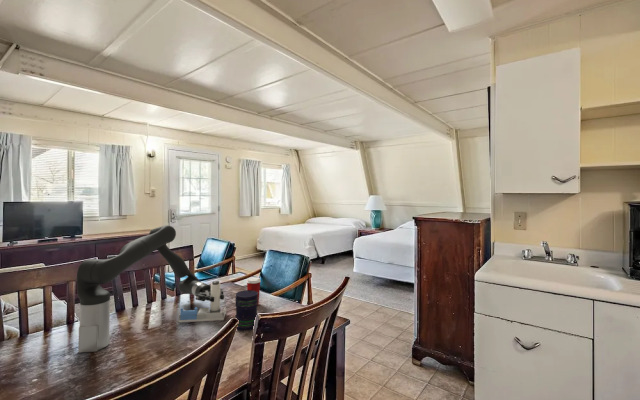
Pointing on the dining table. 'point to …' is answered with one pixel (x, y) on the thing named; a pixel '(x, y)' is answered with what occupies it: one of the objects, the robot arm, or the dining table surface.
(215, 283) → the off-white tall block
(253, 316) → the storage jar
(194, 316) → the grey blue holder base
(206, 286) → the robot arm
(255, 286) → the paper cup
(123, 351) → the dining table surface
